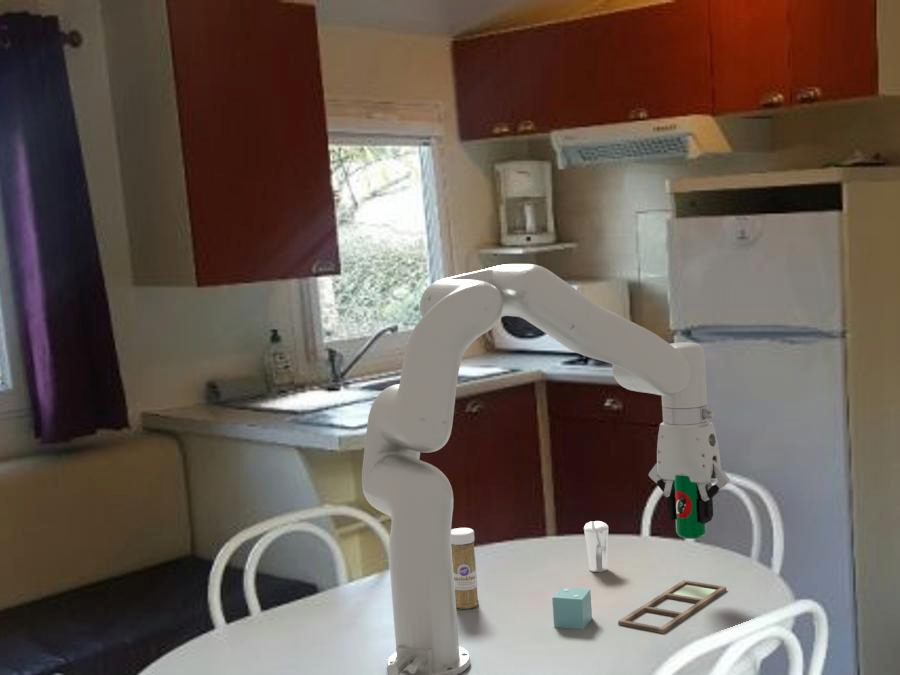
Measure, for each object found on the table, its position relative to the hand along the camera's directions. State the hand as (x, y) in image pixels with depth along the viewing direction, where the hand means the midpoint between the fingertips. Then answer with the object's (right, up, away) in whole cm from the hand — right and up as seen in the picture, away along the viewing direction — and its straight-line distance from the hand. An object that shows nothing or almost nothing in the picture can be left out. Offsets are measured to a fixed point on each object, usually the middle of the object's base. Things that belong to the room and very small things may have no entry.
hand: (690, 518), depth 191 cm
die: (-21, -16, -8) cm, 27 cm away
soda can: (0, -3, 0) cm, 3 cm away
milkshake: (-13, -13, +18) cm, 26 cm away
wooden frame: (-4, -14, -4) cm, 15 cm away
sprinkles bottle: (-38, -16, +4) cm, 42 cm away
